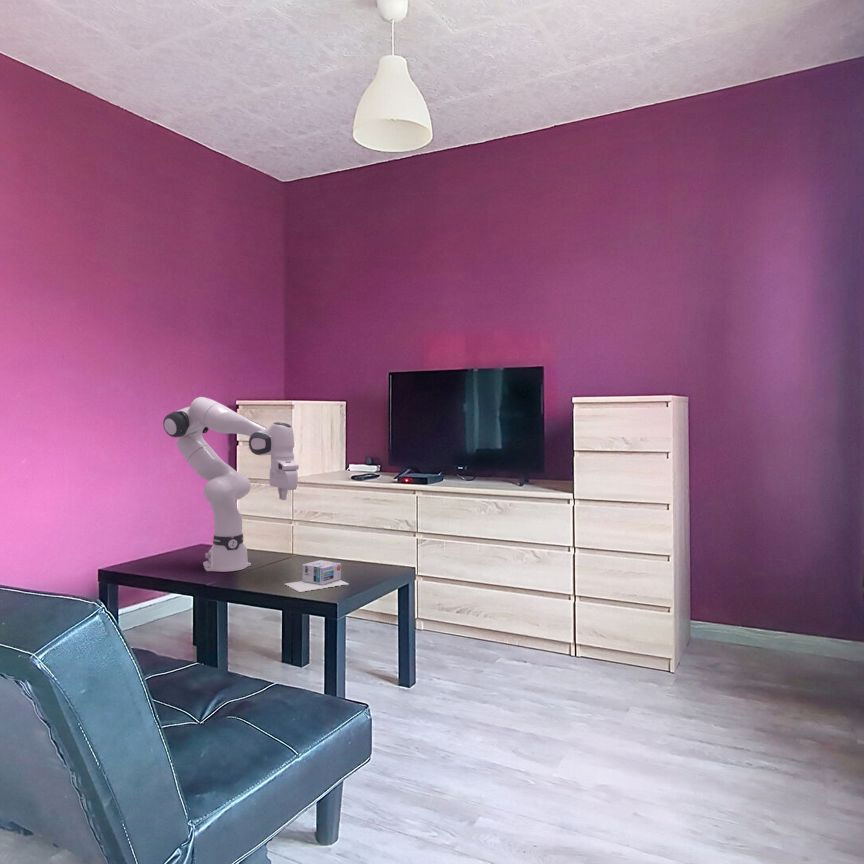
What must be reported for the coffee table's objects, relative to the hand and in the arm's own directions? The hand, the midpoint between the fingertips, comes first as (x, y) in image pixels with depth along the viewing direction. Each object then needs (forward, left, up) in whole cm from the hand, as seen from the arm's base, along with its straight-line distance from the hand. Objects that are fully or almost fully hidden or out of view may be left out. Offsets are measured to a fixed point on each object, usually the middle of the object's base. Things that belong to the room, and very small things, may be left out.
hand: (282, 499), depth 259 cm
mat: (+16, +7, -31) cm, 36 cm away
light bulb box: (+8, +8, -27) cm, 30 cm away
